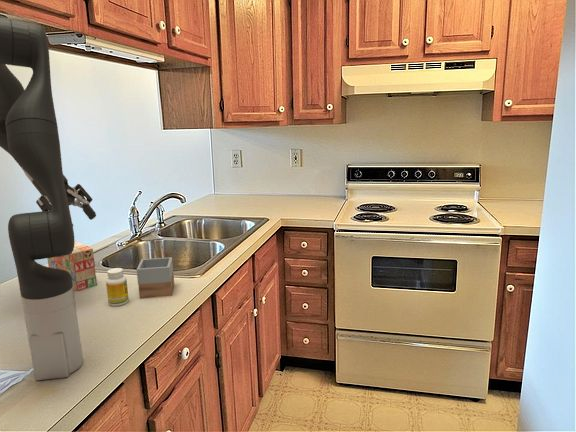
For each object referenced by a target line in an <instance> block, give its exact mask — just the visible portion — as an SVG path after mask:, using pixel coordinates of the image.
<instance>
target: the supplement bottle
mask: <svg viewBox="0 0 576 432" xmlns="http://www.w3.org/2000/svg"><path fill="white" fill-rule="evenodd" d="M106 274H107V276H108V277H107V278H106V279H105V286H106V294H107V303H108V305H109V306H111V307H120V306H123V305H125V304H127V303H128V302H129V300H130V299H129V292H128V291H129V290H128V281H127V280H128V279H127V277H126V276H125V275H124V269H123V268H121V267H114V268H111V269H108V270H107V273H106Z"/></svg>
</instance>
